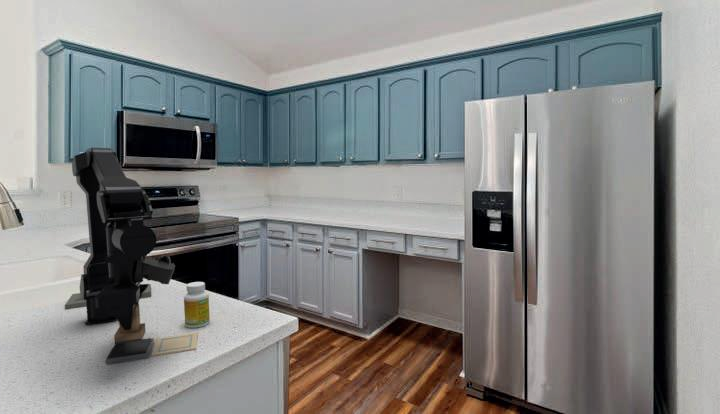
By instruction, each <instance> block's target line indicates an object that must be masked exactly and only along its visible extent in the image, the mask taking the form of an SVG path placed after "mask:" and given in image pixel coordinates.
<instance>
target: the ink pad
mask: <svg viewBox="0 0 720 414" xmlns="http://www.w3.org/2000/svg"><path fill="white" fill-rule="evenodd" d="M154 345H155V340H154V338H153V337H149V338H142V341H135V342H127V343H120V344H115V343H114V344H113V347H112V348H111V350H110V352H109V353H108V354H107V356H106V358H105V365H112V364H119V363H123V362H124V363H125V362H131V361H132V362H133V361H139V360H143V359H149V357H150V356H151V353H152V350H153V348H154Z"/></svg>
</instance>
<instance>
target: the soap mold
mask: <svg viewBox="0 0 720 414" xmlns="http://www.w3.org/2000/svg"><path fill="white" fill-rule="evenodd" d="M148 284H149V285H148V287H147V289H146V290H145V291H144V292H143V293H142V294H143V295H142V297H141V299H148V298H152V284H151V283H148ZM86 292H89V291H86ZM141 299H140V300H141ZM81 308H87V307H86V300H83V299H82V297H81V295H80V292H77V293H72V294H71V296H70V297H69V299H68V300H67V301H66V303H65V304H64V310H65V311H67V310H72V309H81Z"/></svg>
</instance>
